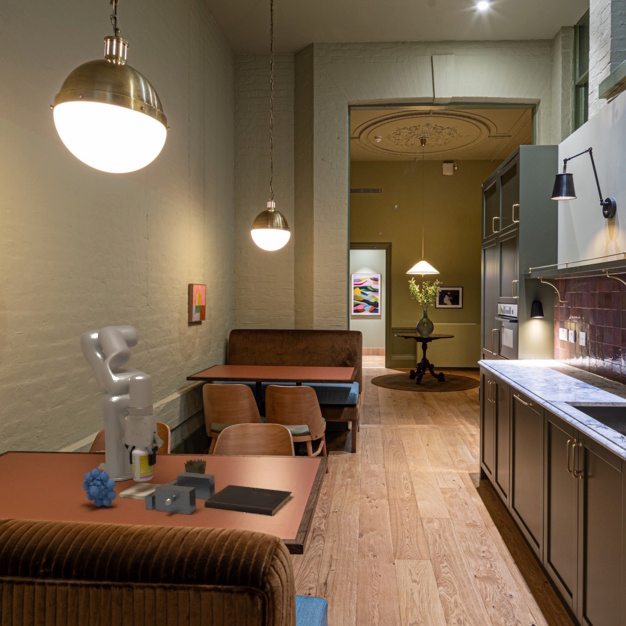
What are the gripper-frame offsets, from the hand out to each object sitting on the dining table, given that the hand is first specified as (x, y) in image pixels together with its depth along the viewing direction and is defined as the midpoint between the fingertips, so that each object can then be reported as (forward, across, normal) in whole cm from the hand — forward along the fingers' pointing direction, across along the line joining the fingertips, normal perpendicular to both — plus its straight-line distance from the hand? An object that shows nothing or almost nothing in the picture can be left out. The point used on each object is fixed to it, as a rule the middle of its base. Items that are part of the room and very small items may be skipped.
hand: (142, 463), depth 180 cm
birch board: (+10, 0, 0) cm, 10 cm away
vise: (+10, +17, -5) cm, 20 cm away
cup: (+10, +13, +12) cm, 20 cm away
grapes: (+10, -6, -15) cm, 19 cm away
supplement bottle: (+5, 0, 0) cm, 5 cm away
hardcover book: (+11, +38, +2) cm, 40 cm away
